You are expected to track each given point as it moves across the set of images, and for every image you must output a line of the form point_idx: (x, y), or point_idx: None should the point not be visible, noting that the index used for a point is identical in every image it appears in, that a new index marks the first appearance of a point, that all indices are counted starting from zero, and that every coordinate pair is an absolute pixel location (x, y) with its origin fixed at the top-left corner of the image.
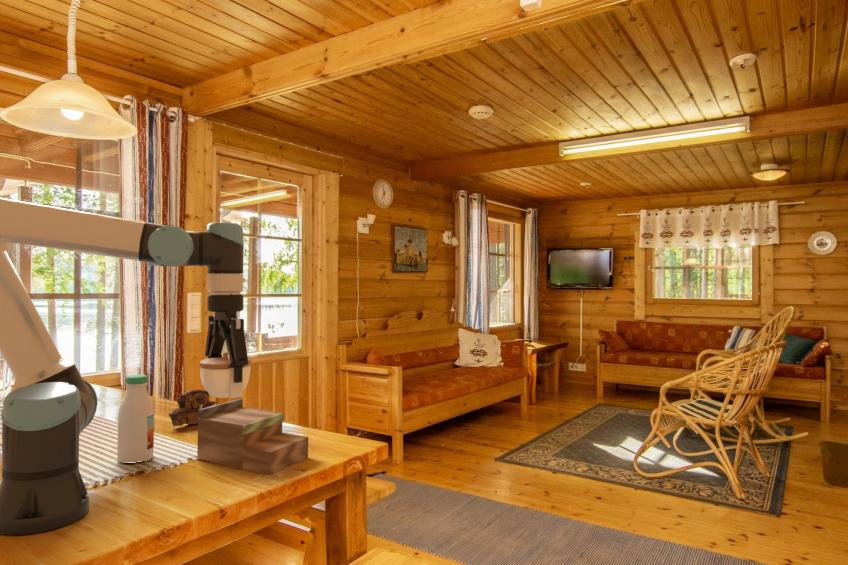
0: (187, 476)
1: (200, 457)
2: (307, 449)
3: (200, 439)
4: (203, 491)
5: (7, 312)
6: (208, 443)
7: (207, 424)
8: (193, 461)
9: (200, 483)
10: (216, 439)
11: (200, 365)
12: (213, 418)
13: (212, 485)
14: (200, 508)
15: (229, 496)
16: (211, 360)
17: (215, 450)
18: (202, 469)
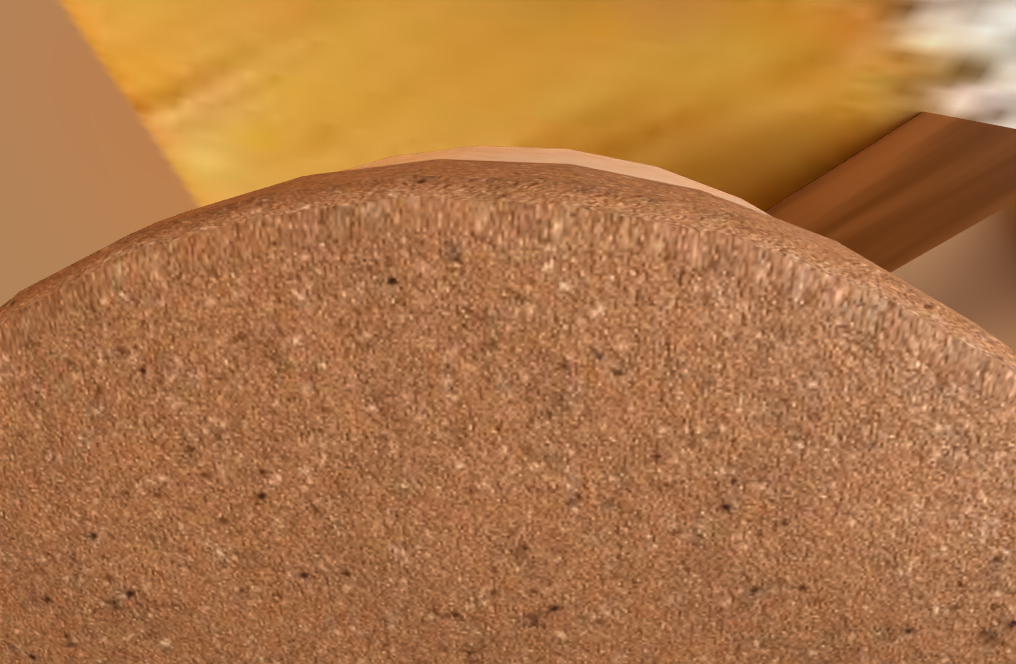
0: (634, 12)
1: (904, 129)
2: None
3: (967, 142)
4: (360, 64)
5: None
6: (882, 185)
7: (963, 206)
8: (898, 83)
9: (485, 67)
10: (829, 237)
11: (387, 169)
12: (989, 268)
13: (430, 122)
14: (140, 16)
15: (253, 172)
16: (486, 585)
17: (809, 214)
18: (714, 112)
